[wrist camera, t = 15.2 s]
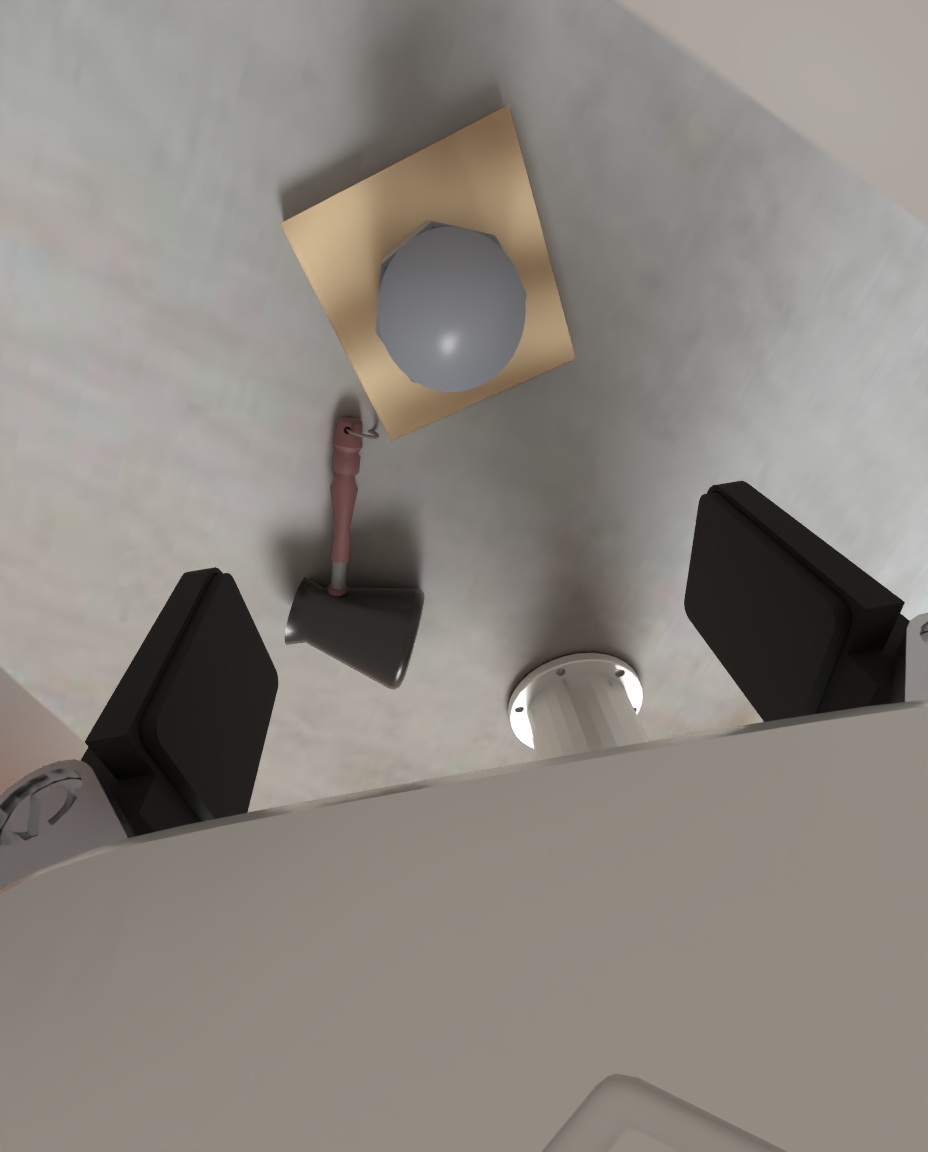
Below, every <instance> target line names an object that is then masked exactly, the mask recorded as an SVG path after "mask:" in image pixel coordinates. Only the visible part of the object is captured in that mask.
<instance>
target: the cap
mask: <svg viewBox="0 0 928 1152" xmlns="http://www.w3.org/2000/svg"><path fill="white" fill-rule="evenodd" d="M526 297H527V293H526V291H525V289H524V287H523V285H522V282H521V279H520V276H519V274H518V272H517V270H516V267H515V266H514V264H513V262H512V261H511V259H510V258H509V257H508V255H507V254H506V253H505V252H504V250H503V248H502V247H501V245H500V243H499V241H498V239H497V237H496V236H495V235H493V234H488V233H484V232H479V231H475V230H470V229H466V228H461V227H457V226H452V225H448V224H443V223H439V222H434V221H428V220H425V221H424V222H423V223H422V224H421V225H420V226H418V227H417V228H416V229H415V230H414V231H413V232H411V233H410V234H409V235H408V236H407V237H406V238H404V239H403V240H402V241H401V242H400V243H399V244H397V245H396V246H395V247H394V248H393V249H391V250H390V251H389V252H388V253H387V254H386V255H384V256H383V259H382V263H381V271H380V283H379V295H378V306H377V318H376V330H375V332H376V334H377V335H378V337H379V338H380V339H381V341H382V342H383V344H384V345H385V347H386V349H387V351H388V353H389V355H390V356H391V358H392V360H393V361H394V362H395V364H396V365H397V366H398V367H399V368H400V370H401V371H403V372H404V373H405V374H406V375H407V376H408V378H409V379H410V380H411V382H414V383H419V384H421V385H422V386H425V387H427V388H430V389H433V390H437V391H443V392H460V391H466V390H470V389H473V388H476V387H478V386H480V385H482V384H484V383H486V382H488V381H489V380H491V379H492V378H493V377H495V376H496V375H497V374H498V373H499V372H500V371H501V370H502V369H503V368H504V367H505V366H506V365H507V364H508V362H509V361H510V359H511V358H512V356H514V353H515V351H516V349H517V347H518V345H519V342H520V340H521V337H522V333H523V330H524V324H525V315H526V304H525V302H526Z"/></svg>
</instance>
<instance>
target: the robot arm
mask: <svg viewBox="0 0 928 1152" xmlns="http://www.w3.org/2000/svg"><path fill="white" fill-rule="evenodd" d="M904 603H905V602H904V601H902V600H901V599H900V598H898V597H897V596H896V595H894V594H893V593H892V592H891V591H889V590H888V589H887V588H885V587H884V586H883V585H881V584H880V583H879V582H877V581H876V580H875V579H873V578H872V577H871V576H869V575H868V574H867V573H865V572H864V571H863V570H861V569H860V568H859V567H858V566H856V565H855V564H854V563H852V562H851V561H850V560H848V559H847V558H846V557H844V556H843V555H842V554H840V553H839V552H838V551H836V550H835V549H834V548H832V547H831V546H830V545H828V544H827V543H826V542H824V541H823V540H822V539H821V538H819V537H818V536H817V535H815V534H814V533H813V532H811V531H810V530H809V529H807V528H806V527H805V526H803V525H802V524H801V523H799V522H798V521H797V520H795V519H794V518H793V517H791V516H790V515H789V514H788V513H786V512H785V511H784V510H782V509H781V508H780V507H778V506H777V505H776V504H774V503H773V502H772V501H770V500H769V499H768V498H766V497H765V496H764V495H762V494H761V493H760V492H758V491H757V490H756V489H754V488H753V487H752V486H751V485H749V484H748V483H746V482H744V481H737V482H731V483H725V484H719V485H713V486H712V487H710V488H709V490H708V492H707V494H704V495H702V496H701V498H700V500H699V505H698V512H697V519H696V526H695V532H694V539H693V546H692V553H691V559H690V566H689V573H688V580H687V586H686V593H685V600H684V605H685V611H686V614H687V616H688V618H689V620H690V621H691V622H692V624H693V625H694V626H695V628H696V629H697V631H698V632H699V633H700V635H701V636H702V637H703V639H704V640H705V641H706V643H707V644H708V646H709V647H710V648H711V650H712V651H713V652H714V654H715V655H716V656H717V658H718V659H719V661H720V662H721V663H722V665H723V666H724V667H725V669H726V670H727V672H728V673H729V674H730V676H731V677H732V678H733V680H734V681H735V682H736V684H737V685H738V687H739V688H740V689H741V691H742V692H743V693H744V695H745V696H746V697H747V699H748V700H749V702H750V703H751V704H752V706H753V707H754V708H755V710H756V711H757V713H758V714H759V715H760V717H761V718H762V719H763V721H764V722H762V723H756V724H750V725H744V726H738V727H732V728H726V729H720V730H714V731H708V732H702V733H697V734H691V735H685V736H679V737H673V738H667V739H661V740H655V741H650V740H649V738H648V736H647V734H646V732H645V730H644V728H643V726H642V724H641V722H640V720H639V718H638V716H637V714H638V713H639V710H640V708H641V705H642V702H643V688H642V685H641V682H640V680H639V678H638V676H637V675H636V673H635V672H634V670H633V668H631V667H630V666H629V665H628V664H627V663H626V662H624V661H622V660H620V659H618V658H616V657H613V656H610V655H606V654H599V653H578V654H573V655H568V656H564V657H561V658H558V659H555V660H552V661H550V662H548V663H546V664H544V665H542V666H540V667H538V668H537V669H535V670H534V671H532V672H531V673H529V674H528V675H527V676H526V677H525V678H524V679H523V680H522V681H521V682H520V683H519V685H518V686H517V687H516V689H515V690H514V692H513V694H512V696H511V698H510V701H509V706H508V716H509V721H510V724H511V728H512V730H513V732H514V734H515V735H516V736H517V737H518V738H519V739H520V740H521V741H522V742H523V743H525V744H526V745H528V746H529V747H532V748H534V751H535V754H536V758H537V761H533V762H527V763H521V764H515V765H510V766H504V767H498V768H493V769H487V770H481V771H475V772H470V773H464V774H458V775H453V776H447V777H441V778H435V779H430V780H424V781H419V782H413V783H408V784H402V785H396V786H391V787H385V788H380V789H374V790H369V791H363V792H357V793H352V794H346V795H341V796H335V797H329V798H324V799H318V800H313V801H307V802H302V803H296V804H290V805H285V806H280V807H275V808H270V809H264V810H259V811H254V812H249V813H247V812H248V807H249V803H250V799H251V795H252V791H253V787H254V783H255V779H256V775H257V771H258V767H259V763H260V759H261V754H262V750H263V746H264V742H265V738H266V734H267V730H268V726H269V722H270V718H271V714H272V710H273V706H274V701H275V697H276V693H277V689H278V676H277V672H276V669H275V667H274V665H273V662H272V660H271V658H270V656H269V654H268V652H267V650H266V647H265V645H264V643H263V641H262V639H261V637H260V634H259V632H258V630H257V628H256V626H255V624H254V622H253V619H252V617H251V615H250V613H249V611H248V609H247V606H246V604H245V602H244V600H243V598H242V596H241V594H240V591H239V589H238V587H237V585H236V583H235V581H234V579H233V577H232V576H231V575H230V574H229V573H224V574H223V573H222V572H221V571H220V570H219V569H218V568H216V567H215V568H209V569H203V570H197V571H191V572H186V573H184V574H183V576H182V577H181V579H180V580H179V582H178V584H177V586H176V587H175V589H174V591H173V592H172V594H171V596H170V597H169V599H168V601H167V603H166V604H165V606H164V608H163V609H162V611H161V613H160V615H159V616H158V618H157V620H156V621H155V623H154V625H153V626H152V628H151V630H150V632H149V633H148V635H147V637H146V638H145V640H144V642H143V643H142V645H141V647H140V649H139V650H138V652H137V654H136V655H135V657H134V659H133V660H132V662H131V664H130V666H129V667H128V669H127V671H126V672H125V674H124V676H123V678H122V679H121V681H120V683H119V684H118V686H117V688H116V689H115V691H114V693H113V695H112V696H111V698H110V700H109V701H108V703H107V705H106V706H105V708H104V710H103V712H102V713H101V715H100V717H99V718H98V720H97V722H96V724H95V725H94V727H93V729H92V730H91V732H90V734H89V735H88V737H87V739H86V741H85V743H86V744H87V745H88V749H87V751H86V752H85V754H84V756H83V757H82V759H81V761H79V760H75V759H74V760H64V761H58V762H55V763H52V764H49V765H46V766H43V767H41V768H39V769H37V770H35V771H33V772H31V773H29V774H27V775H25V776H24V777H23V778H21V779H20V780H18V781H17V782H16V783H14V784H13V785H12V786H10V787H9V788H7V790H5V791H4V792H3V793H2V794H1V795H0V1152H928V613H925V614H921V615H918V616H916V617H915V618H913V619H912V620H911V621H909V620H908V619H906V618H905V617H904V616H903V615H901V614H900V612H901V610H902V607H903V605H904Z"/></svg>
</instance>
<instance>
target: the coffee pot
mask: <svg viewBox="0 0 928 1152" xmlns="http://www.w3.org/2000/svg"><path fill="white" fill-rule="evenodd" d="M350 429H351V430H350ZM368 432H369V433H371V434H374V435H375V436H371V435H364V434H362V422H361V421H360V420H359V419H357V418H354V417H341V418H339V420H338V424H337V428H336V432H335V437H334V441H333V444H334V446H335V448H336V451H335V452H334V454H333V465H332V469H333V470H334V471H335V472H336V476H335V478H334V480H333V482H332V484H331V487H330V488H331V496H332V504H333V512H334V520H335V529H334V536H333V542H332V549H331V555H330V559H331V560H332V561H333V564H332V579H331V584H330V585H329V588H322V587H320V586H319V585H317V584H316V583H315V582H313V581H312V580H310V579H309V578H308V577H305V578H304V579H303V581H302V582H301V584H300V586H299V588H298V591H297V593H296V595H295V598H294V601H293V604H292V607H291V610H290V614H289V617H288V622H287V626H286V632H285V643H286V645H287V644H295V643H303V642H306V643H308V644H310V645H311V646H313V647H315V648H317V649H319V650H320V651H322V652H324V653H326V654H328V655H330V656H331V657H333V658H335V659H337V660H339V661H340V662H342V663H344V664H346V665H348V666H350V667H351V668H353V669H355V670H357V671H359V672H360V673H362V674H364V675H366V676H368V677H369V678H371V679H373V680H375V681H377V682H379V683H380V684H382V685H384V686H386V687H388V688H390V689H396V688H398V687H399V686H400V685H401V683H402V682H403V679H404V677H405V674H406V671H407V668H408V665H409V661H410V658H411V654H412V651H413V647H414V643H415V640H416V636H417V632H418V628H419V624H420V619H421V615H422V610H423V604H424V593H423V591H422V590H421V589H418V588H347V586H346V585H345V581H346V568H347V562H349V561H350V523H351V519H352V514H353V509H354V505H355V500H356V495H357V491H358V488H357V485H356V481H355V477H354V475H356V474H357V473H359V466H360V456H359V454H358V452H359V450H360V449H361V448H362V437H363V438H368V439H377V438H379V434H378V433H376V432H375V431H372V430H369V431H368Z"/></svg>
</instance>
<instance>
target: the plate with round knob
mask: <svg viewBox="0 0 928 1152" xmlns="http://www.w3.org/2000/svg"><path fill="white" fill-rule="evenodd" d="M425 220H428V221H434V222H439V223H443V224H448V225H452V226H457V227H461V228H466V229H470V230H475V231H479V232H484V233H488V234H493V235H495V236H496V237H497V239H498V241H499V243H500V245H501V247H502V248H503V250H504V252H505V253H506V254H507V255H508V257H509V258H510V259H511V261H512V262H513V264H514V266H515V267H516V270H517V272H518V274H519V276H520V279H521V282H522V285H523V287H524V289H525V291H526V293H527V297H526V302H525V304H526V315H525V324H524V330H523V333H522V337H521V340H520V342H519V345H518V347H517V349H516V351H515V353H514V356H512V358H511V359H510V361H509V362H508V364H507V365H506V366H505V367H504V368H503V369H502V370H501V371H500V372H499V373H498V374H497V375H496V376H495V377H493V378H492V379H491V380H489V381H488V382H486V383H484V384H482V385H480V386H478V387H476V388H473V389H470V390H466V391H460V392H443V391H437V390H433V389H430V388H427V387H425V386H422V385H421V384H419V383H414V382H411V380H410V379H409V378H408V376H407V375H406V374H405V373H404V372H403V371H401V370H400V368H399V367H398V366H397V365H396V364H395V362H394V361H393V360H392V358H391V356H390V355H389V353H388V351H387V349H386V347H385V345H384V344H383V342H382V341H381V339H380V338H379V337H378V335H377V334H376V332H375V330H376V318H377V306H378V295H379V283H380V271H381V263H382V259H383V256H384V255H386V254H387V253H388V252H389V251H390V250H391V249H393V248H394V247H395V246H396V245H397V244H399V243H400V242H401V241H402V240H403V239H404V238H406V237H407V236H408V235H409V234H410V233H411V232H413V231H414V230H415V229H416V228H417V227H418V226H420V225H421V224H422V223H423V222H424V221H425ZM280 225H281V227H282V229H283V231H284V233H285V235H286V237H287V239H288V241H289V243H290V244H291V246H292V248H293V250H294V252H295V254H296V256H297V258H298V260H299V262H300V264H301V266H302V268H303V270H304V272H305V274H306V276H307V278H308V280H309V282H310V284H311V285H312V287H313V289H314V291H315V293H316V295H317V297H318V299H319V301H320V303H321V305H322V307H323V309H324V311H325V313H326V315H327V317H328V319H329V321H330V323H331V325H332V327H333V328H334V330H335V332H336V334H337V336H338V338H339V340H340V342H341V344H342V346H343V348H344V350H345V352H346V354H347V356H348V358H349V360H350V362H351V364H352V366H353V368H354V369H355V371H356V373H357V375H358V377H359V379H360V381H361V383H362V385H363V387H364V389H365V391H366V393H367V395H368V397H369V399H370V401H371V403H372V405H373V407H374V409H375V410H376V412H377V414H378V416H379V418H380V420H381V422H382V424H383V426H384V428H385V430H386V432H387V434H388V436H389V438H390V440H391V441H392V440H394V439H396V438H398V437H401V436H403V435H405V434H407V433H410V432H412V431H414V430H416V429H419V428H421V427H423V426H425V425H428V424H430V423H432V422H434V421H437V420H439V419H441V418H443V417H446V416H448V415H450V414H452V413H455V412H457V411H459V410H461V409H464V408H466V407H468V406H470V405H473V404H475V403H477V402H479V401H482V400H484V399H486V398H488V397H491V396H493V395H495V394H497V393H500V392H502V391H504V390H506V389H509V388H511V387H513V386H515V385H517V384H520V383H522V382H524V381H526V380H529V379H531V378H533V377H535V376H538V375H540V374H542V373H544V372H547V371H549V370H551V369H553V368H556V367H558V366H560V365H562V364H565V363H567V362H569V361H571V360H574V359H576V357H575V354H574V350H573V346H572V342H571V338H570V335H569V331H568V327H567V323H566V320H565V316H564V312H563V308H562V304H561V301H560V297H559V293H558V289H557V285H556V282H555V278H554V274H553V270H552V266H551V263H550V259H549V255H548V251H547V248H546V244H545V240H544V236H543V232H542V229H541V225H540V221H539V217H538V213H537V210H536V206H535V202H534V198H533V195H532V191H531V187H530V183H529V179H528V176H527V172H526V168H525V164H524V160H523V157H522V153H521V149H520V145H519V141H518V138H517V134H516V130H515V126H514V123H513V119H512V115H511V111H510V107H509V105H507V106H505V107H503V108H501V109H499V110H497V111H495V112H493V113H491V114H490V115H488V116H486V117H484V118H482V119H480V120H478V121H476V122H474V123H472V124H470V125H468V126H466V127H465V128H463V129H461V130H459V131H457V132H455V133H453V134H451V135H449V136H447V137H445V138H443V139H442V140H440V141H438V142H436V143H434V144H432V145H430V146H428V147H426V148H424V149H422V150H420V151H418V152H417V153H415V154H413V155H411V156H409V157H407V158H405V159H403V160H401V161H399V162H397V163H395V164H393V165H392V166H390V167H388V168H386V169H384V170H382V171H380V172H378V173H376V174H374V175H372V176H370V177H369V178H367V179H365V180H363V181H361V182H359V183H357V184H355V185H353V186H351V187H349V188H347V189H345V190H344V191H342V192H340V193H338V194H336V195H334V196H332V197H330V198H328V199H326V200H324V201H322V202H320V203H319V204H317V205H315V206H313V207H311V208H309V209H307V210H305V211H303V212H301V213H299V214H297V215H296V216H294V217H292V218H290V219H288V220H286V221H284V222H282V223H280Z"/></svg>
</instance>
